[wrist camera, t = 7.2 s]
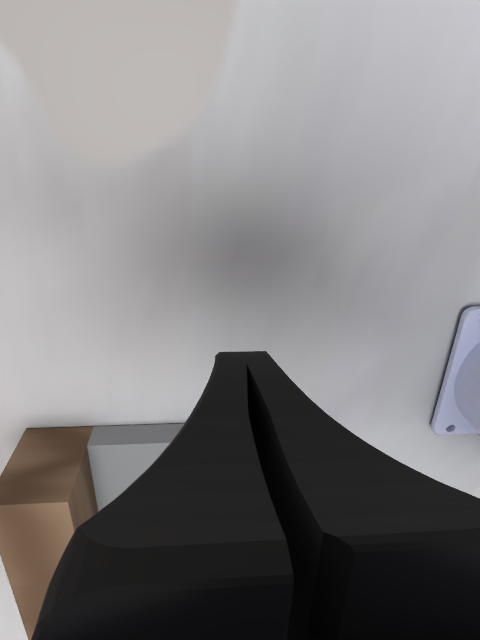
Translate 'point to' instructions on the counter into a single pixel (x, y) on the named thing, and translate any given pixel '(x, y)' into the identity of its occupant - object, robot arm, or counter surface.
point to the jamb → (43, 510)
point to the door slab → (124, 455)
